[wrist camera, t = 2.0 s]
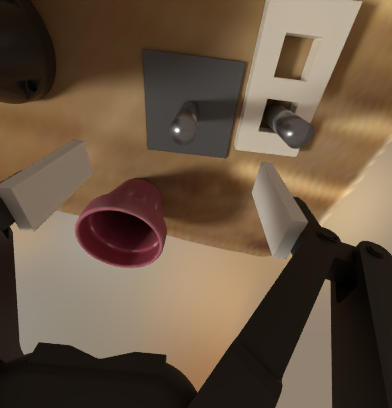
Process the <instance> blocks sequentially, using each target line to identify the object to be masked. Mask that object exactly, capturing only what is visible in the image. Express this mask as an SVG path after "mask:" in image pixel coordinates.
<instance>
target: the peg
mask: <svg viewBox="0 0 392 408" xmlns="http://www.w3.org/2000/svg"><path fill="white" fill-rule="evenodd" d="M199 113H200V110H199V107H198V105H197V104H196V103H195V102H193V101H186V102H184V103H183V105H182V106H181V108H180V110H179V111H178V113H177V115H176V117H175V118H174V120H173V122H172V124H171V126H170V129H169V133H170V137H171V139H172V140H173V141H174V142H175V143H176V144H178V145H182V146H185V145H189V144H190V143H192V142H193V141H194V139H195V137H196V131H197V125H198V119H199Z"/></svg>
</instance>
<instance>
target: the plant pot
mask: <svg viewBox="0 0 392 408" xmlns="http://www.w3.org/2000/svg"><path fill="white" fill-rule="evenodd" d="M166 234H167V228H166V224H165V221H164V219H163V209H162V197H161V194H160V192H159V190H158V189H157V188H156V187H155V186H154V185H153V184H151V183H150V182H148V181H145V180H142V179H130V180H127V181H125V182H124V183H123V184H121V185H120V186H119V187H117V188H116V189H114V190H113V191H112V192H110V193H109V194H106V195H102V196H100V197H97V198H96V199H94V200H93V201H91V202H90V203H89V205H88V206H87V207H86V208H85V210H84V211H83V212H82V214H81V215H80V217H79V218H78V220H77V222H76V224H75V235H76V239H77V241H78V242H79V244H80V245H81V247H82V248H83V249H84V250H85V251H86V252H87V253H88V254H90V255H91V256H92V257H94V258H96V259H98V260H100V261H102V262H104V263H106V264H109V265H113V266H117V267H123V268H137V267H143V266H146V265H149V264H151V263H153V262H154V261H155V260H156V259H157V258H158V257H159V256H160V254H161V253H162V250H163V247H164V243H165V239H166Z"/></svg>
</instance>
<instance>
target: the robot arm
mask: <svg viewBox="0 0 392 408" xmlns="http://www.w3.org/2000/svg"><path fill="white" fill-rule="evenodd" d="M55 72H56V62H55V54H54V50H53V46H52V42H51V39H50V36H49V34H48V31H47V29H46V27H45V25H44V23H43V21H42V19H41V17H40V15H39V14H38V12H37V11H36V9H35V7H34V6H33V5H32V3H31V2H30V0H0V102H4V103H10V104H21V103H27V102H31V101H35V100H38V99H40V98H42V97H43V96H45V95H46V94H47V93H48V92H49V90H50V89H51V87H52V85H53V82H54V79H55ZM92 175H93V174H92V170H91V166H90V161H89V157H88V153H87V149H86V144H85V141H80V140H73V141H71V142H70V143H68V144H66V145H65V146H63V147H61V148H59V149H58V150H56V151H54V152H53V153H51V154H49V155H48V156H46V157H44V158H42V159H41V160H39V161H37V162H36V163H34V164H32V165H31V166H29V167H27V168H25V169H24V170H21V171H19V172H17V173H15V174H14V175H13V176H10V177H9V178H7V180H3V181H2V182H0V408H275V407H276V404H277V402H278V399H279V397H280V394H281V390H282V377H283V374H284V372H285V369H286V367H287V365H288V363H289V360H290V358H291V356H292V353H293V351H294V348H295V347H296V344H297V342H298V340H299V338H300V335H301V332H302V331H303V328H304V326H305V324H306V321H307V319H308V317H309V315H310V312H311V310H312V308H313V305H314V303H315V301H316V299H317V296H318V294H319V292H320V289H321V287H322V285H323V283H324V280H325V279H328V280H330V281H331V349H332V408H392V255H391V254H390V253H389V252H388V251H387V250H386V249H385V248H383V247H382V246H380V245H378V244H375V243H373V242H369V241H362V242H360V243H359V244H358V245H357V246H356V247H354V246H351V245H349V244H345V243H342V242H341V241H340V239H339V237H338V236H337V235H336V234H335V233H334V232H332V231H331V230H329V229H326V228H323V227H321V226H320V224H319V223H318V221H317V220H316V219H315V217H314V216H313V214H311V211H310V210H309V209H308V207H307V205H306V204H305V202H303V201H302V200H301V199H300V198H298V197H293V196H292V195H291V193H290V192H289V190H288V188H287V187H286V185H285V183H284V182H283V180H282V179H281V177H280V175H279V174H278V172H277V170H276V169H275V167H274V166H273V164H272V163H268V162H261V165H260V168H259V172H258V175H257V178H256V181H255V184H254V187H253V190H252V195H253V198H254V201H255V204H256V207H257V210H258V213H259V216H260V220H261V223H262V226H263V229H264V232H265V235H266V238H267V241H268V244H269V247H270V250H271V253H272V256H273V258H283V259H287V257H288V256H289V254H290V252H291V253H292V255H293V256H292V258H291V259H290V261H289V262H288V264H287V265H286V267H285V268H284V270H283V271H282V273H281V274H280V275H279V277H278V279H277V280H276V281H275V283H274V284H273V286H272V287H271V289H270V290H269V292H268V293H267V294H266V296H265V297H264V299H263V300H262V302H261V303H260V305H259V306H258V308H257V309H256V310H255V312H254V313H253V315H252V316H251V318H250V319H249V321H248V322H247V324H246V325H245V326H244V328H243V329H242V331H241V332H240V334H239V335H238V337H237V338H236V339H235V340H234V341H233V342H232V344H231V345H230V347H229V348H228V350H227V351H226V352H225V354H224V355H223V357H222V358H221V360H220V361H219V363H218V364H217V365H216V367H215V368H214V370H213V371H212V373H211V374H210V376H209V377H208V379H207V380H206V381H205V383H204V384H203V386H202V387H201V389H200V390H199V392H198V393H197V391H196V390H195V388H194V386H193V385H192V384H191V382H190V381H189V380H188V379H187V377H186V376H185V375H184V374H183V373H182V372H181V371H179V370H178V369H177V368H175V367H173V366H172V365H170V364H168V363H166V355H162V354H152V353H142V352H132V353H127V354H123V355H118V356H113V357H108V358H103V359H98V358H95V357H93V356H91V355H89V354H87V353H85V352H83V351H81V350H79V349H76V348H75V347H73V346H70V345H60V344H51V343H41V342H40V343H38V345H37V346H36V348H35V349H34V351H33V352H32V353H29V354H26V355H24V354H23V352H22V350H21V347H20V342H19V327H18V310H17V294H16V279H15V263H14V247H13V232H12V230H11V228H10V227H9V226H11V225H12V224H13V223H14V222H16V224H17V226H18V227H19V229H20V230H25V231H33V232H34V231H35V230H36V229H38V228H39V227H40V226H41V225H42V224H43V223H44V222H45V221H46V220H47V219H48V218H49V217H50V216H51V215H52V214H53V213H54V212H55V211H56V210H57V209H58V208H59V207H60V206H61V205H62V204H63V203H64V202H65V201H66V200H67V199H68V198H69V197H70V196H71V195H72V194H73V193H74V192H75V191H76V190H77V189H78V188H79V187H80V186H81V185H82V184H83V183H84V182H86V181H87V180H88V179H89V178H90V177H91V176H92Z"/></svg>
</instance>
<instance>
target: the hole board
mask: <svg viewBox="0 0 392 408" xmlns="http://www.w3.org/2000/svg"><path fill="white" fill-rule="evenodd" d="M361 4H362V2H360V1H352V0H266V2H265V6H264V11H263V15H262V20H261V24H260V29H259V33H258V38H257V42H256V47H255V52H254V56H253V61H252V65H251V70H250V74H249V79H248V83H247V88H246V92H245V97H244V102H243V106H242V111H241V115H240V120H239V124H238V129H237V133H236V138H235V142H234V146H235V149H236V150H242V151H250V152H259V153H268V154H276V155H285V156H293V157H296V156H297V154H298V151H299V149H300V148H299V149H293V148H290V147H289V146H288V145H287V144H286V143H285V142H284V141H283V140H282V139H281V138H280V137H279V135H278V134H277V133H276V132H275V131H274V130H273V129H268V128H260V123H261V120H262V116H263V113H264V109H265V106H266V102H267V99H275V100H283V101H291V102H292V104H291V106H290V109H289V111H291V112H293V113H294V114H296V115H297V116H299V117H301V118H302V119H304V120H305V121H307V122H309V123H311V121H312V119H313V116H314V114H315V112H316V109H317V107H318V105H319V102H320V100H321V98H322V95H323V93H324V91H325V88H326V86H327V84H328V81H329V79H330V77H331V74H332V72H333V70H334V67H335V65H336V63H337V60H338V58H339V56H340V53H341V51H342V49H343V46H344V44H345V42H346V39H347V37H348V35H349V32H350V30H351V28H352V25H353V23H354V21H355V18H356V16H357V14H358V11H359V9H360V7H361ZM285 35H286V36H294V37H302V38H309V39H314V41H313V44H312V47H311V50H310V53H309V55H308V58H307V61H306V64H305V67H304V70H303V72H302V75H301V78H300V80H296V79H287V78H279V77H274V74H275V70H276V67H277V63H278V60H279V56H280V53H281V49H282V46H283V42H284V38H285Z"/></svg>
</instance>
